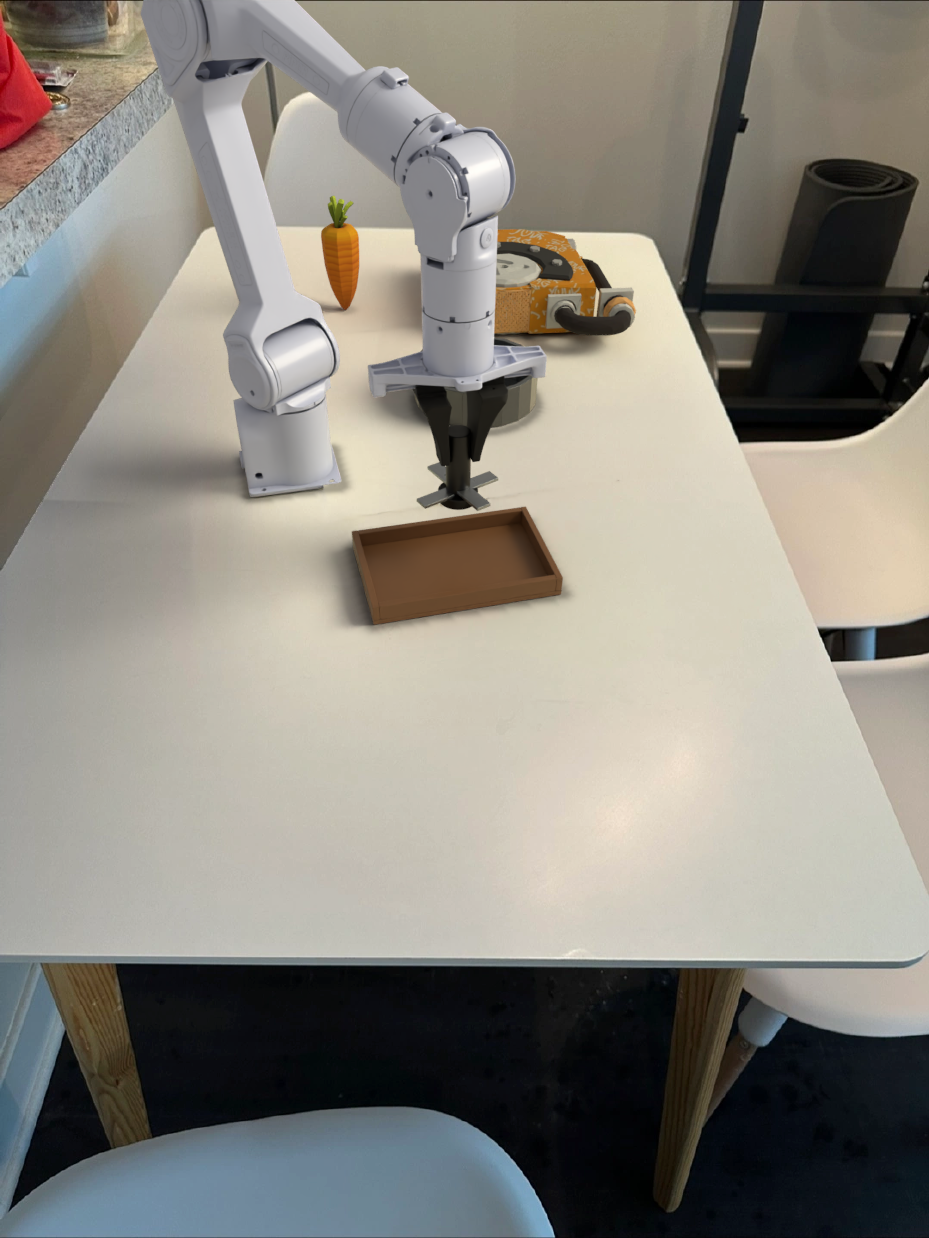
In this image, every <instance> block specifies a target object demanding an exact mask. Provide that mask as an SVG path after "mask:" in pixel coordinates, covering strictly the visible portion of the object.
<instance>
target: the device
mask: <svg viewBox="0 0 929 1238" xmlns="http://www.w3.org/2000/svg"><path fill="white" fill-rule="evenodd" d="M576 243H577V242H576V240H575V239H574V238H567V237H566V235H563V234H559V233H555V232H552V231H549V230H548V231H547V230H535V231H532V230H528V229H526V228H518V229H517V228H516V229H515V228H511V229H509V228H508V229H498V234H497V266H496V297H495V326H494V335H500V336H503V335H516V334H517V335H519V334H522V333H528V335H529V334H533V335H534V334H556V333H557V334H558V333H560V334H561V333H573V334H576V335H582V336H589V337H590V336H614V335H615V336H616V335H619V334H622V333H624V332H625V331H627V330H628V329H629V328H630V327H631V326H632V325H633V324H634V321H635V318H636V312H637V310H636V307H635V304H634V302H633V301H634V293H635V290H634V289H633V287H612V285H611V283H610V282H609V280H608V279H607V277H606V276H605V274H604V272H603V270H602V268H601V267H600V266H599V264H598V263H596V262H595V261H594V260H592V259H588V258H583V256H580V254H579V252H578V251H577V244H576ZM597 291H598V300H597V309H596V315H595V307H596V297H597ZM594 315H595V316H594Z"/></svg>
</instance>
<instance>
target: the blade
mask: <svg viewBox="0 0 929 1238" xmlns="http://www.w3.org/2000/svg"><path fill="white" fill-rule="evenodd" d="M449 449H450V464H449V466H441V464H440V462H439V461H438V462H436V463H432V464H431V465H427V470H428V472H430V473H432V474H433V475H434V476H435V477H436V478H437V479H439V480H440V481H441V483H440V484H439V486H438V489H437V490H436V491H433V492H430V493H428V494H425V495H423V496H420V497H418V498H417V497H416V503H418V504H419V505H420V506H421V507H422V508H423V509H429V508H432V507H434V506H436V505H439V504H440V505H441V506H443V507H444V508H446V509H449V510H452V511H453V510H455V511H463V510H468V509H470V508H473V509H474V510H475V511H477V512H479V511H481V510H484V509H486V508H489V507H491V502H490V501H488V500H487V499H486V498H485V497H484V496H482V495H481V494H480V493H479V489H480V488H483V487H485V486H488V485H490V484H493V483H495V482H498V481H499V477H498V476H497V475H496V474H495V473H493V472H491V471H490V470H488V471H486V472H483V473H480V474H477V475H475V476H473V477H472V476H471V469H472V468H471V467H472V460H471V430H470V428H468V427H467V426H464V425H453V426H450V425H449Z"/></svg>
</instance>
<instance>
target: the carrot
mask: <svg viewBox="0 0 929 1238" xmlns="http://www.w3.org/2000/svg"><path fill="white" fill-rule="evenodd" d="M353 205H354V201H352V200H350V201H348V202H347V203H346V204H345V199H343V198H338V201H337V197H336V195H331V196H330V197H329V202H327V209H328V212H329V215H330V218H331V219H332V222H331V223H329V224H328V225H326V226H324V227H323V228H322V229H321V232H320V239H321V247H322V248H321V249H322V255H323V262H324V268H325V272H326V275H327V279H328V282H329V286H330V289H331V290H332V293H333V295H334V298H335V299H336V300H337V302H338V304H339V305H340V307H341V308H342V309H343V310H344V311H347V310H348V309H349V308H350V307H351V304H352V302H353V300H354V299H355V294H356V292H357V288H358V281H359V272H360V237H359V233H358V231H357V230H356V229H357V228H355V227H354V226H353V225H352V224H351V223H347V222H346V221H347V219H348V218H349V216H348V215H346V214H347V212H348V210H349V209H350V208H351V207H352V206H353Z"/></svg>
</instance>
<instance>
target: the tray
mask: <svg viewBox="0 0 929 1238" xmlns="http://www.w3.org/2000/svg"><path fill="white" fill-rule="evenodd" d="M351 538H352V539H351V541H352V549H353V553H354V556H355V561H356V565H357V567H358V572H359V575H360V577H361V578H360V579H361V583H362V587H363V590H364V594H365V597H366V601H367V605H368V609H369V613H370V616H371V620H372V623H373V625H381V624H386V623H387V624H388V623H392V622H393V623H394V622H400V621H405V620H411V619H417V618H424V617H429V616H430V617H431V616H436V615H441V614H442V615H443V614H449V613H454V612H455V613H456V612H461V611H466V610H473V609H480V608H485V607H490V606H497V605H503V604H509V603H515V602H522V601H527V600H528V601H529V600H535V599H540V598H541V599H542V598H547V597H553V596H558V595H562V590H563V579H564V577H563V575H562V573H561V571H560V569H559V568H558V565H557V563H556V562H555V560H554V558H553V556H552V554H551V552H550V550H549V548H548V546H547V544H546V543H545V542H546V541H544V538H543V536H542V535H541V533H540V531H539V529H538V527H537V525H536V523H535V521H534V519H533V517H532V515H531V513H530V511H529V509H528V508H527V506H520V507H513V508H506V509H499V510H492V511H485V512H477V513H470V514H464V515H456V516H449V517H442V518H435V519H429V520H422V521H421V520H420V521H415V522H407V523H401V524H394V525H393V524H392V525H387V526H379V527H371V528H366V529H365V528H364V529H359V530H352V531H351Z"/></svg>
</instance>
